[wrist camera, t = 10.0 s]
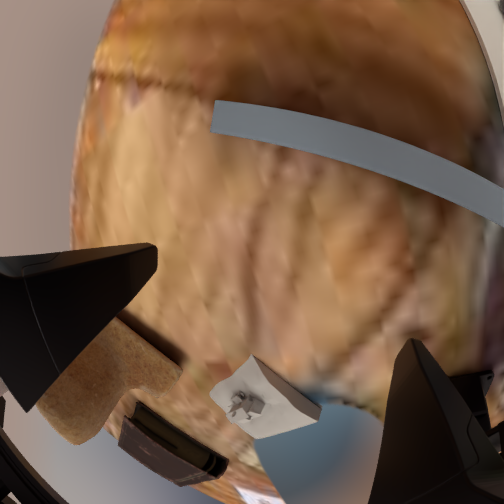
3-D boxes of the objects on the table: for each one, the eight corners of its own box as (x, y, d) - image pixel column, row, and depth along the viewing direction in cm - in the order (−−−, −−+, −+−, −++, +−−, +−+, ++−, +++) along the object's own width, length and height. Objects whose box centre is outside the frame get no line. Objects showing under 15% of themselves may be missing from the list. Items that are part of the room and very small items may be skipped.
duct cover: (508, 197, 11) (552, 221, 6) (501, 219, 11) (542, 250, 7) (256, 110, 15) (214, 99, 11) (252, 133, 16) (209, 132, 11)
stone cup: (93, 339, 34) (23, 397, 22) (90, 280, 29) (-8, 345, 16) (175, 403, 32) (111, 482, 19) (193, 358, 26) (99, 467, 13)
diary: (233, 459, 35) (220, 483, 30) (192, 474, 47) (182, 489, 43) (136, 395, 37) (117, 414, 33) (126, 429, 50) (114, 443, 45)
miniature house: (229, 335, 24) (208, 362, 20) (336, 394, 22) (328, 427, 19) (198, 393, 29) (181, 415, 26) (279, 438, 28) (268, 462, 24)
